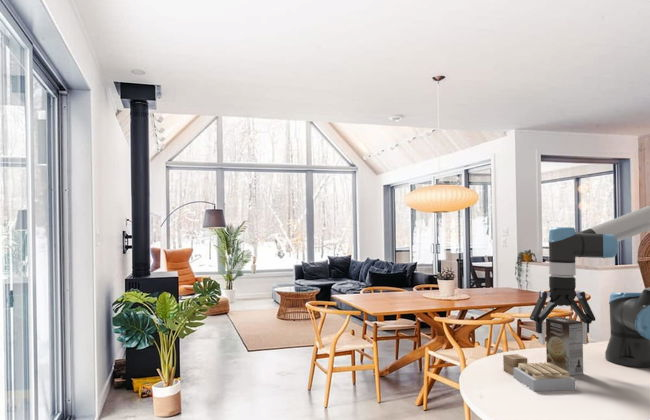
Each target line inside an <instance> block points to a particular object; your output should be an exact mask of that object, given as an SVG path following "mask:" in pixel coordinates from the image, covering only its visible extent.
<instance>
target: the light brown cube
mask: <svg viewBox="0 0 650 420" xmlns="http://www.w3.org/2000/svg"><path fill="white" fill-rule="evenodd" d="M502 356H503V360H502V361H503V363H502V364H503V372H505V373H507V374H510V375H512V376H513V375H514V373H513V368H516V367H518V363H525V364H527V363H528V357H525V356H524V355H521V354H518V353H515V354H514V353H513V354H503V355H502Z"/></svg>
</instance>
